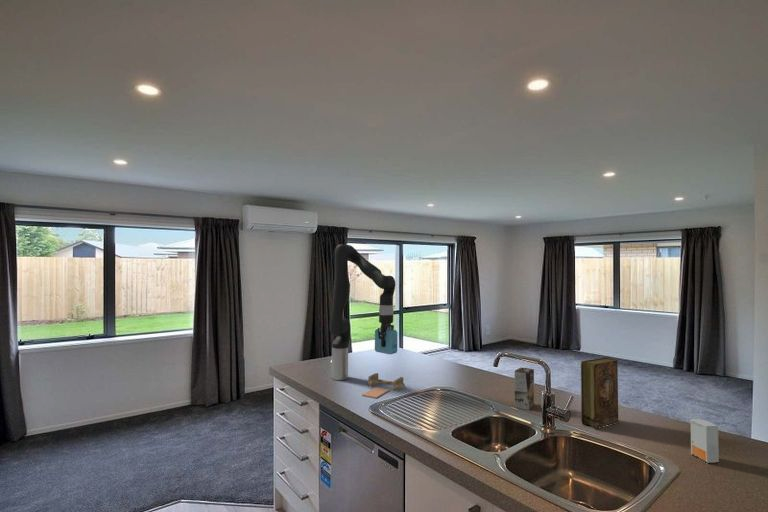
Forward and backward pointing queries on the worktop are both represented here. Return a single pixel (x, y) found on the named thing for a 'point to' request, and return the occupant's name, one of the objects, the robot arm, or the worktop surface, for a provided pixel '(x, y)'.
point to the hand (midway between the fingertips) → (385, 345)
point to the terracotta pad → (375, 392)
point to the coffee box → (524, 388)
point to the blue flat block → (390, 342)
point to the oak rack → (397, 383)
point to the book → (599, 392)
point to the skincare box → (704, 440)
